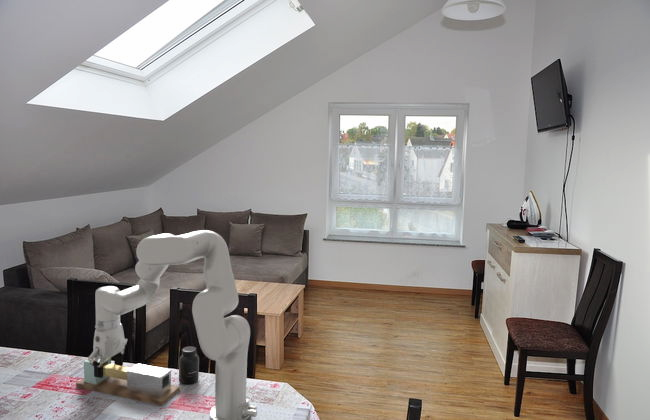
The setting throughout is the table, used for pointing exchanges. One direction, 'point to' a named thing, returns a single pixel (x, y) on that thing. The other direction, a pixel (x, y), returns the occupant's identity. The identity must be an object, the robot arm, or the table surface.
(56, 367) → the table surface
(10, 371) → the table surface
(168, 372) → the steel sleeve
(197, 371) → the supplement bottle
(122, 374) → the brass inner tube
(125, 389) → the walnut base board
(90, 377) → the sage socket block
